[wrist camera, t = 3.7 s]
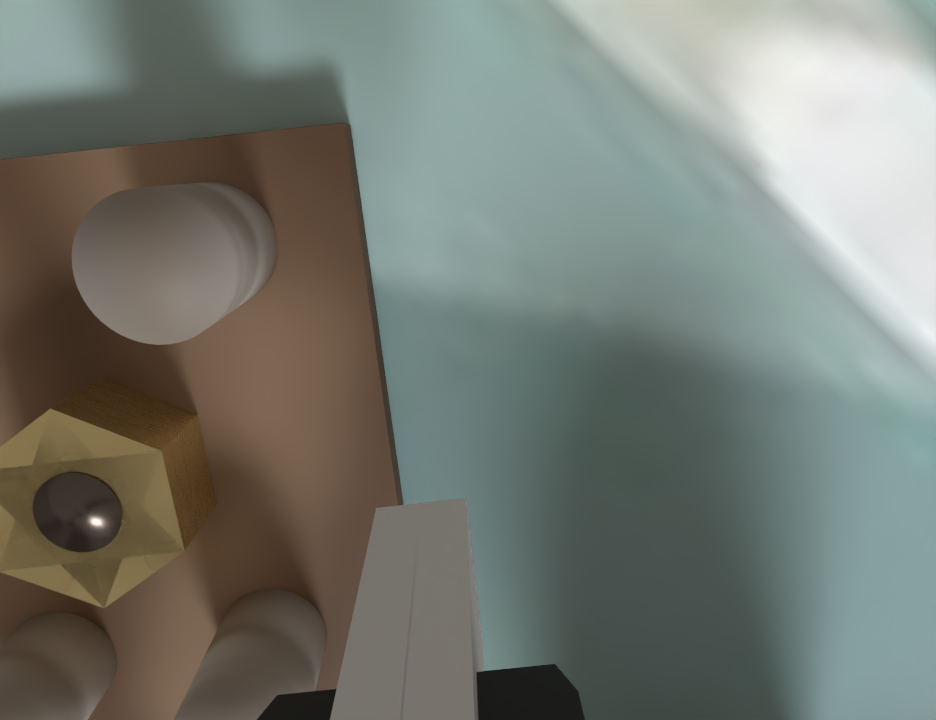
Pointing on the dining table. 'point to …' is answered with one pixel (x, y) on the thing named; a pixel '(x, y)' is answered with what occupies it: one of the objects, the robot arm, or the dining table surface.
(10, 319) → the board
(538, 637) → the dining table surface
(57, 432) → the brass nut
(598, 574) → the dining table surface
